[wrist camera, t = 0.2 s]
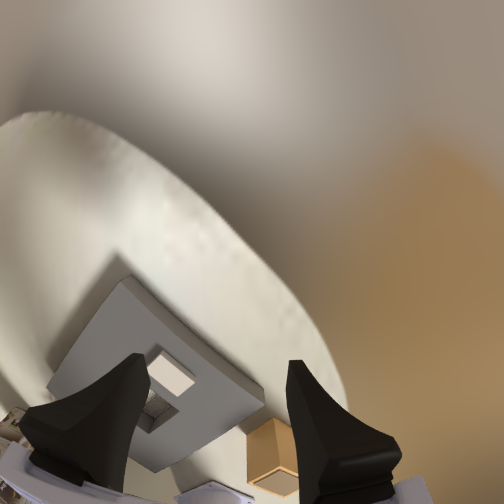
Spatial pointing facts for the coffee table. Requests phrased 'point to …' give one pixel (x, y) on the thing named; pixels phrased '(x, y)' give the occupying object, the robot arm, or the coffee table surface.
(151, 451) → the socket plate
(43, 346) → the coffee table surface
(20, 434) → the coffee box
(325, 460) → the robot arm
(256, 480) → the plug
